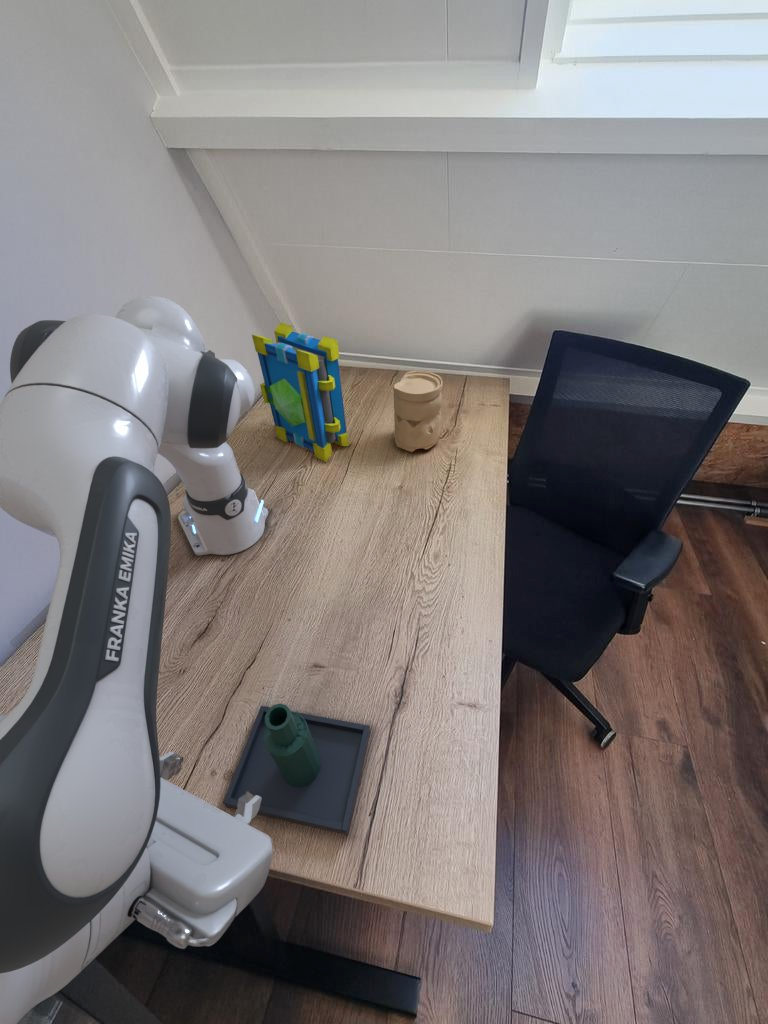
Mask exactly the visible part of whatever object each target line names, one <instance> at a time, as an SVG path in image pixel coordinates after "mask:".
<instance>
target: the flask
mask: <svg viewBox="0 0 768 1024" xmlns="http://www.w3.org/2000/svg"><path fill="white" fill-rule="evenodd" d="M291 711H292V710H291V709H290V707H289V706H288V705H286V704H283V703H277V704H274V705H272V706H271V708H270V709H268V711H267V713H266V715H265V724H266V726H267V727H266V729H265V734H264V742H265V746H266V748H267V750H268V751H269V753H270V755H271V757H272V758H273V760H274V762H275V763H276V765H277V767H278V768H279V770H280V772H281V774H282V775H283V777H284V778H285V780H286V781H287V782H288V783H289V784H290V785H292V786H294V787H304V786H306V785H308V784H310V783H311V782H312V781H313V780H314V779H315V778H316V777H317V775H318V773H319V770H320V757H319V754H318V751H317V749H316V746H315V744H314V741H313V739H312V736H311V733H310V731H309V728H308V726H307V723H306V721H305V719H304V718H303V717H302V716H301V715H300V714H298V713H299V712H298V713H295V712H296V711H293V712H291Z"/></svg>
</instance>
